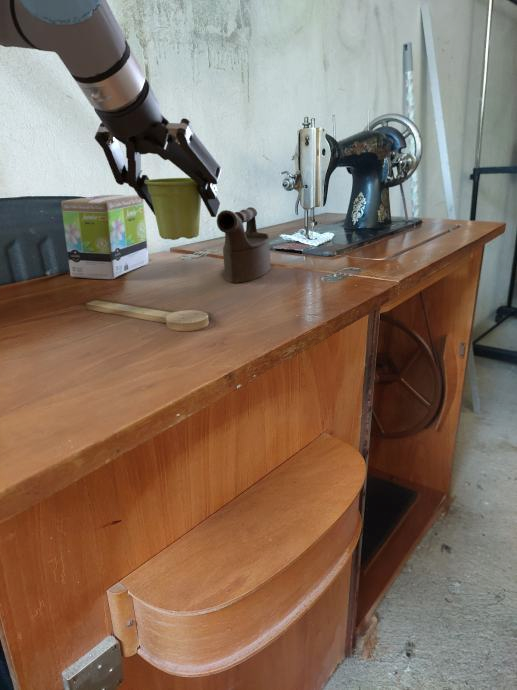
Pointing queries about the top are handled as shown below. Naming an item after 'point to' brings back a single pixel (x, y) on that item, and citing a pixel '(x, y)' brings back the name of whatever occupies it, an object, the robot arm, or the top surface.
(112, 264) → the tea box
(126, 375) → the top surface
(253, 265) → the clothes iron
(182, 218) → the plant pot
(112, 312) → the spoon
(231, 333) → the top surface
